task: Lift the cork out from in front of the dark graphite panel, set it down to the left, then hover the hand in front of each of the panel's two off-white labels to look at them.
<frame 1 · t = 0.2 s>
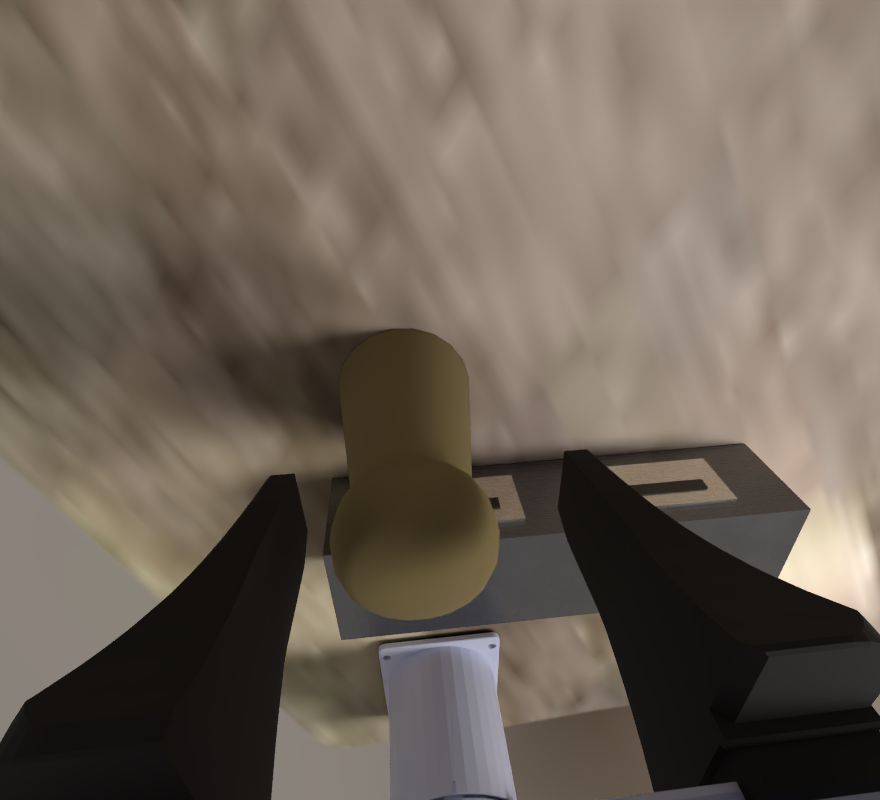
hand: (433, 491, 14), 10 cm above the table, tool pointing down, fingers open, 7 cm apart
cork: (404, 386, 24), on the table
label panel: (540, 503, 28), on the table
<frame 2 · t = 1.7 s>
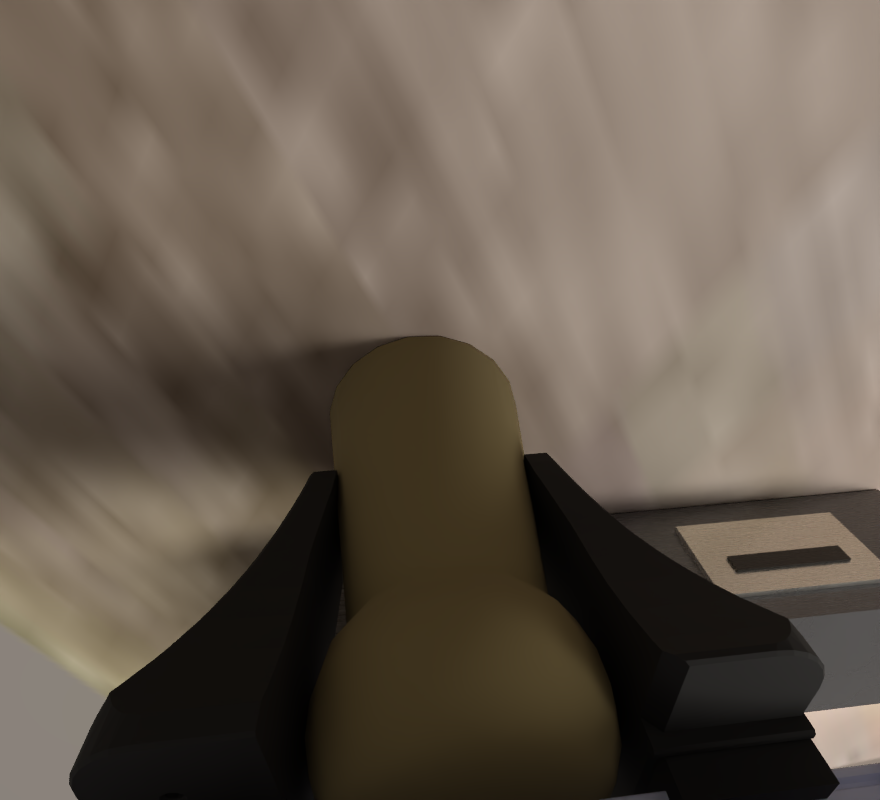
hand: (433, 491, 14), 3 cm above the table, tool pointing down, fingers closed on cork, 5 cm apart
cork: (423, 417, 17), on the table, touching gripper
label panel: (600, 567, 21), on the table
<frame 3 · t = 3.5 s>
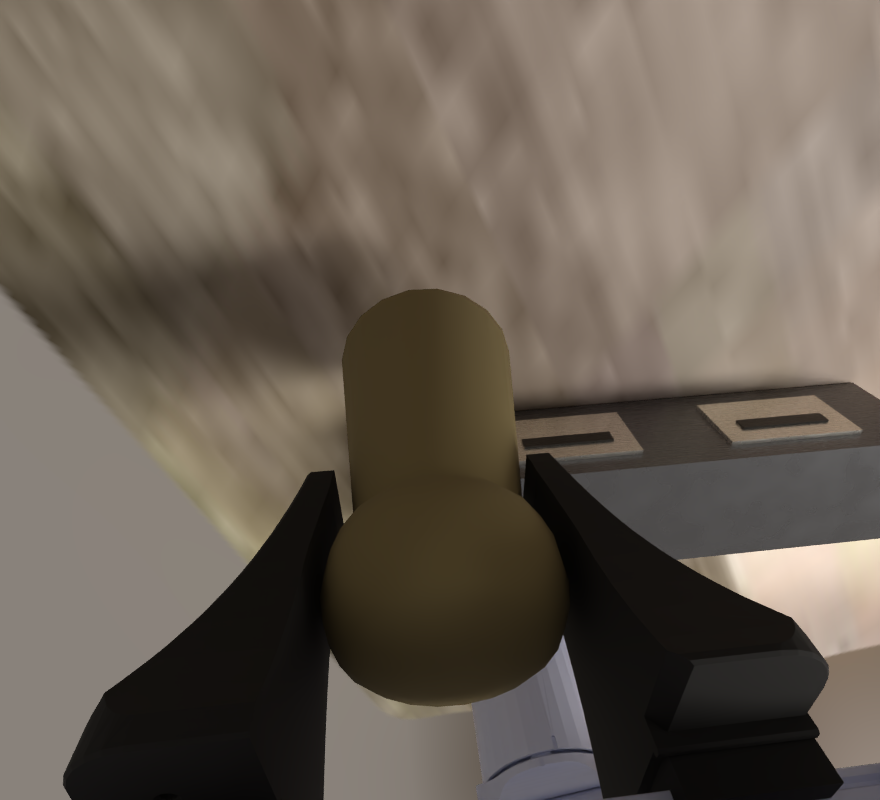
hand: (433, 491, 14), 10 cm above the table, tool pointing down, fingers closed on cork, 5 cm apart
cork: (426, 364, 19), point 4 cm above the table, touching gripper
label panel: (636, 448, 27), on the table
when the fingers open (5 cm above the table, at t = 5.5 s): cork stays where it is, on the table.
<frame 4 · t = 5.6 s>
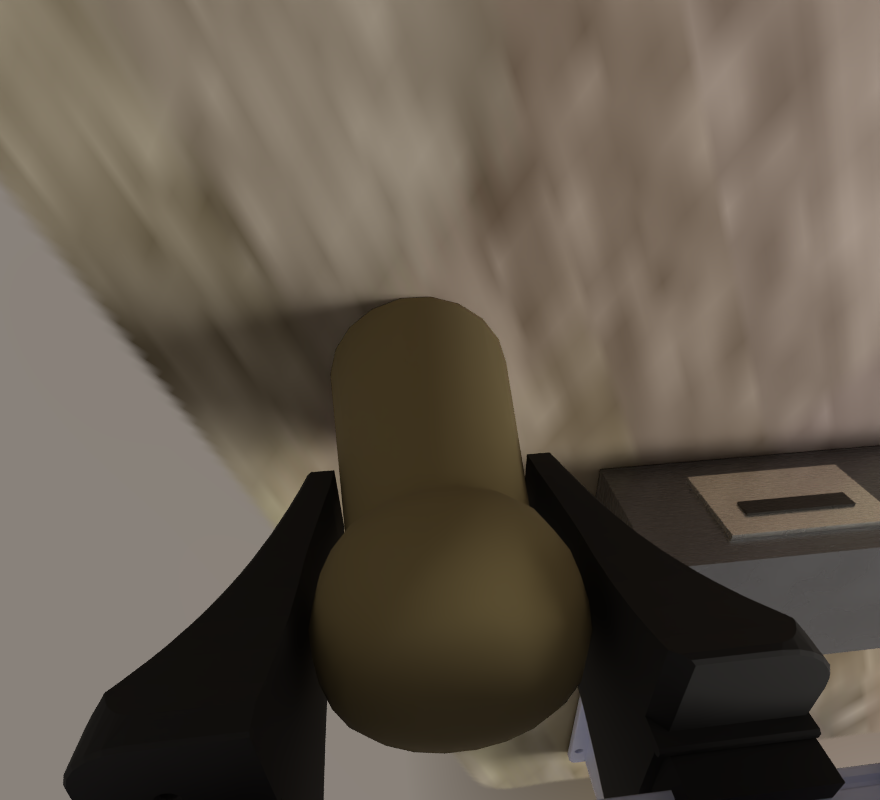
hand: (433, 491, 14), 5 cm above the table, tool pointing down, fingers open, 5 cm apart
cork: (419, 377, 18), on the table
label panel: (831, 501, 23), on the table
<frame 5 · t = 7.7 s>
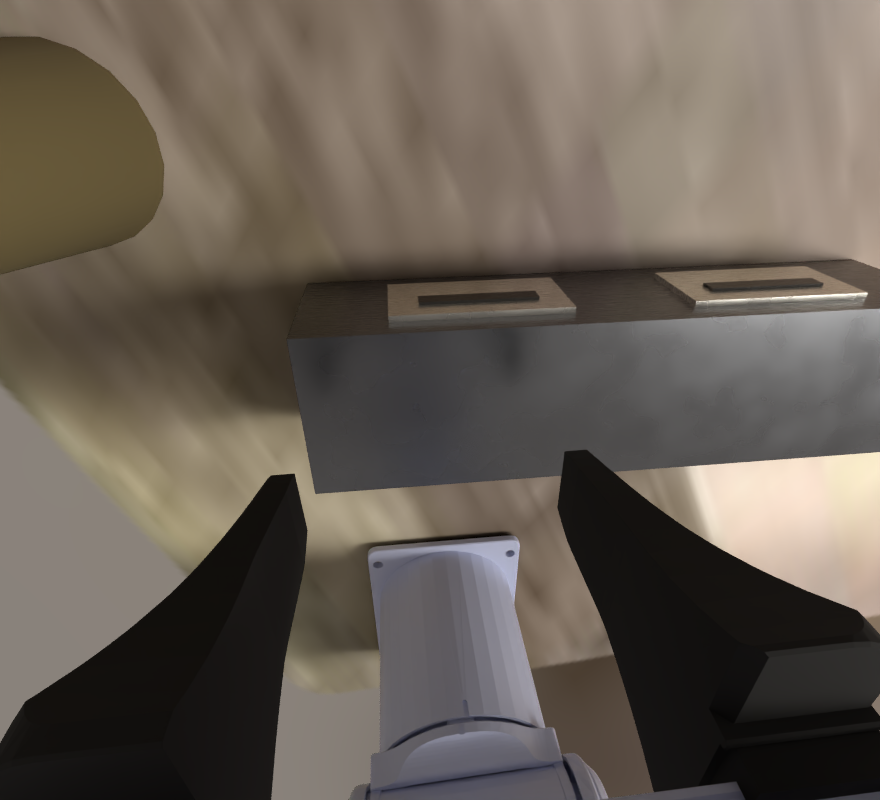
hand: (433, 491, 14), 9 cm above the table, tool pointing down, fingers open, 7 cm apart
cork: (66, 150, 16), on the table
label panel: (581, 340, 22), on the table
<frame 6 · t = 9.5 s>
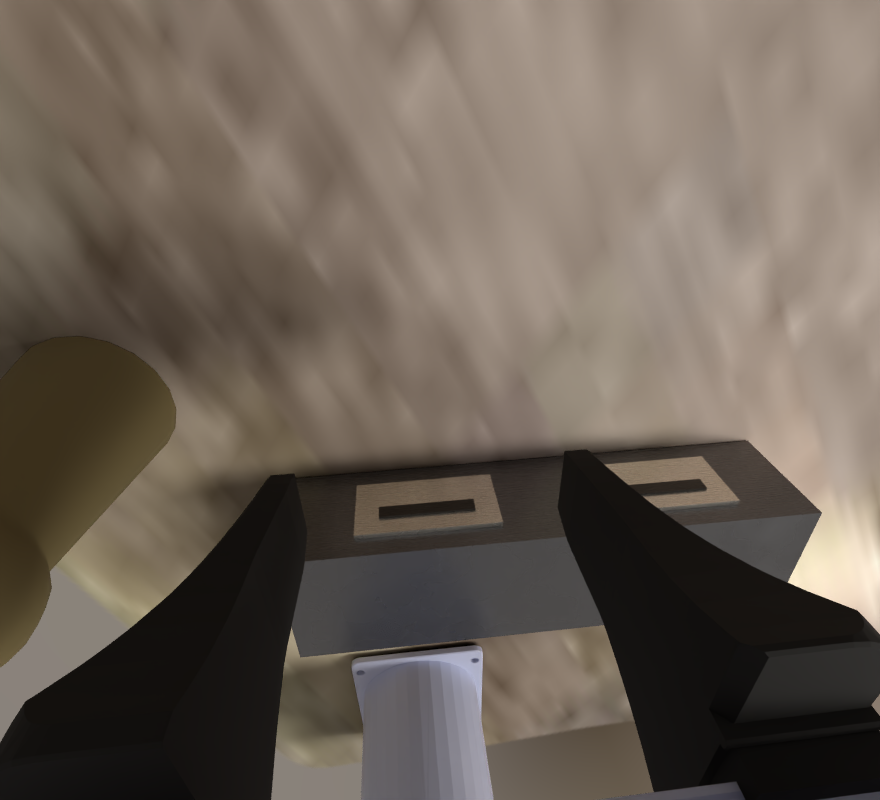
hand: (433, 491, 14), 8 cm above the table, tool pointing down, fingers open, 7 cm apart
cork: (99, 401, 21), on the table
label panel: (523, 505, 26), on the table
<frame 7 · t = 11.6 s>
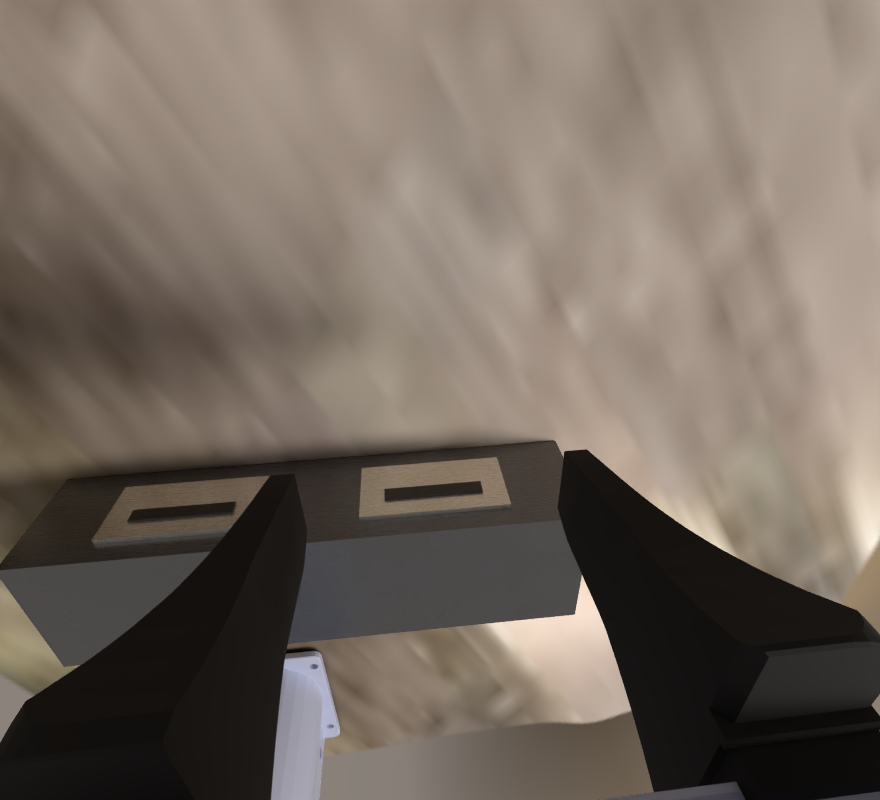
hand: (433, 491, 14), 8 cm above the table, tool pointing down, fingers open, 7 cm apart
label panel: (328, 508, 25), on the table
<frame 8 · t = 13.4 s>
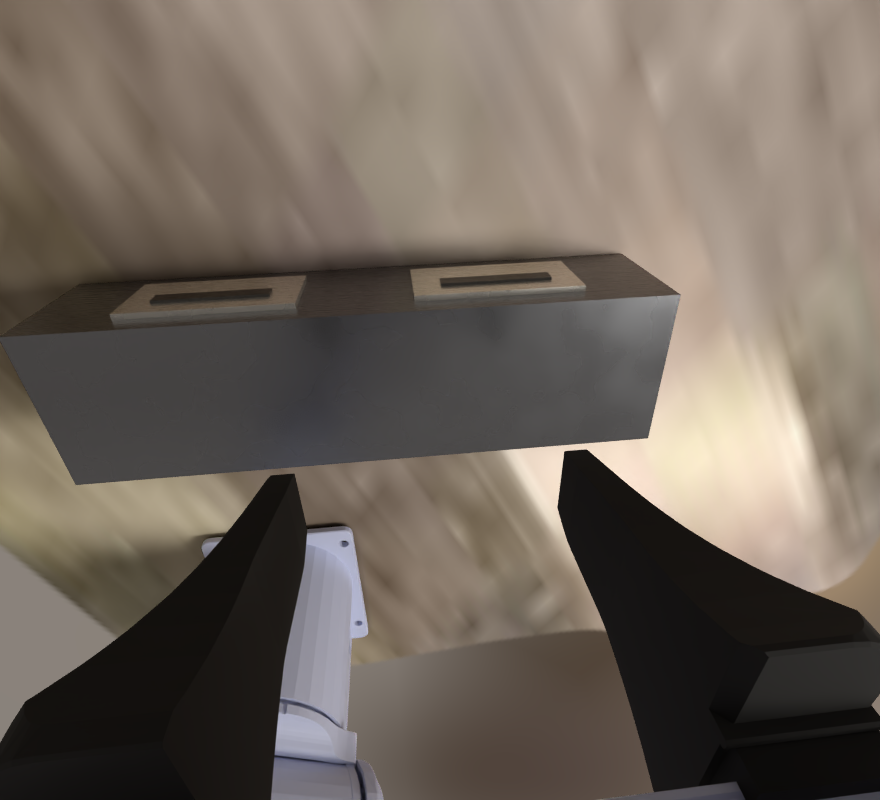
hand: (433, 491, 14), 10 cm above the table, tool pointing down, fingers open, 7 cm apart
label panel: (367, 336, 22), on the table
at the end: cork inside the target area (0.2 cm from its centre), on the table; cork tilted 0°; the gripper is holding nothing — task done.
